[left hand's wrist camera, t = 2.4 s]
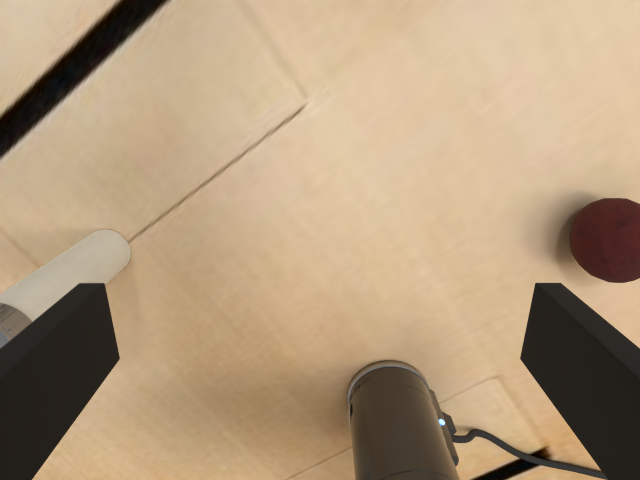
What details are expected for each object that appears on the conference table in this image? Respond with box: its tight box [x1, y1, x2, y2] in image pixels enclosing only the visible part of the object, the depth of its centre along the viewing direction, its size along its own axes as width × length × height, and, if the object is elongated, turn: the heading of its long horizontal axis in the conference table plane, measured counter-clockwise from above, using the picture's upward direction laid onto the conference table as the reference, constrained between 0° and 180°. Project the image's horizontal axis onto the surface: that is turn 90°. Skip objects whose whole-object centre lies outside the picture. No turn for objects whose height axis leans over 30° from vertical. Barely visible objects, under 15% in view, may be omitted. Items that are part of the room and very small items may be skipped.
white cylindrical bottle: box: [0, 229, 131, 322], centre depth 34 cm, size 4×4×17 cm
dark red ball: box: [570, 198, 640, 283], centre depth 38 cm, size 7×8×7 cm
